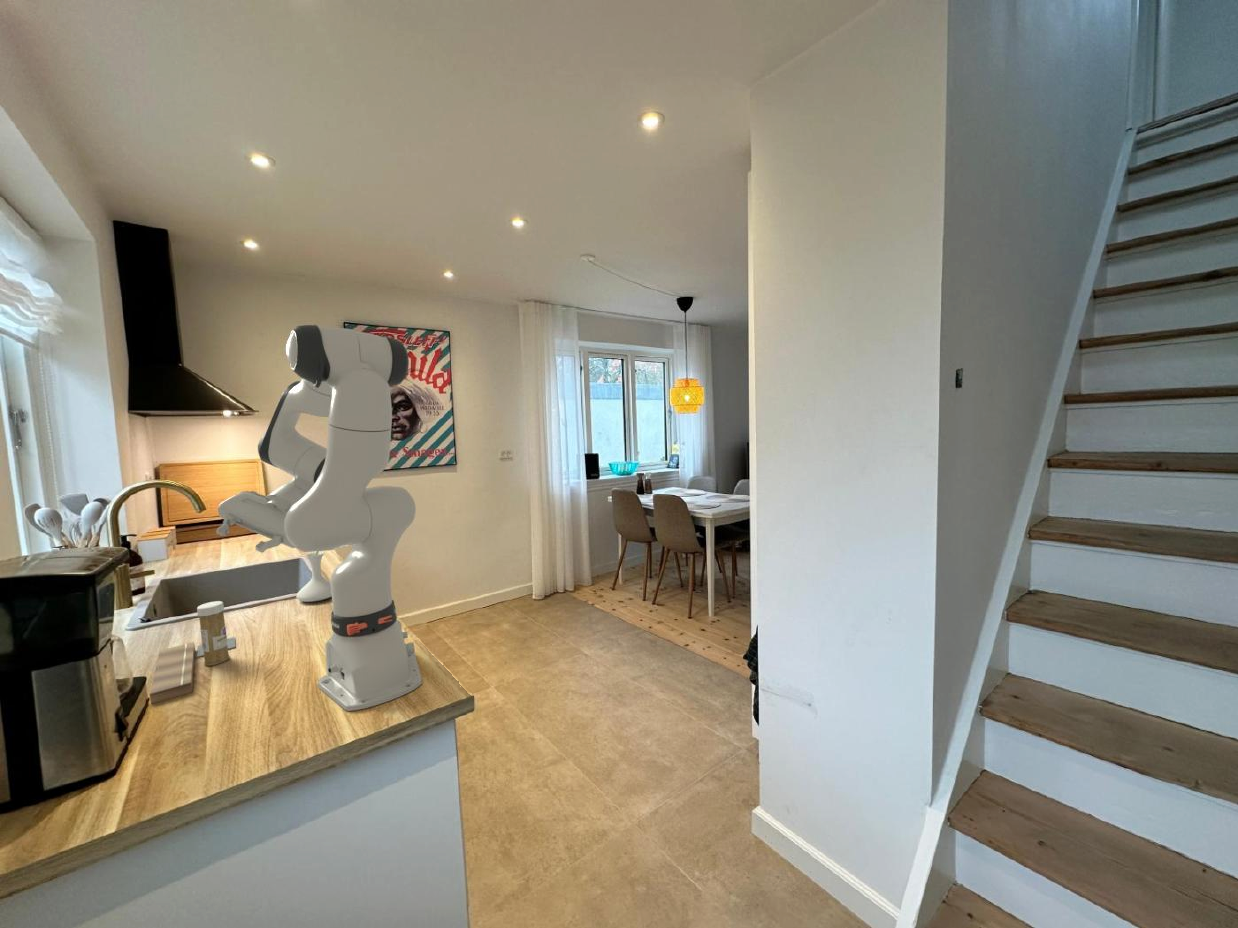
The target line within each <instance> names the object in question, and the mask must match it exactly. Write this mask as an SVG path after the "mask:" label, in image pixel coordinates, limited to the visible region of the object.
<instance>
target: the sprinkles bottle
mask: <svg viewBox="0 0 1238 928" xmlns="http://www.w3.org/2000/svg"><path fill="white" fill-rule="evenodd" d="M224 610H225V606H224V602H223V601H220V600H215V601H210V602H206V603H202V604H200V605H198V606H197V608H196V611H197V616H198V618H199V627H200V628H199V631H200V639H201V645H202V647H203V651H204V656H203V658H204V662H203V663H204V665H205V666H208V667H211V666H217V665H219V664H222V663H225V662H226V661H228V660H229V659H230V654H229V653H230V652H229V650H228V646H227V644H228V642H227V639H228V634H227V626H226V623H225V615H224V614H225V613H224Z"/></svg>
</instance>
